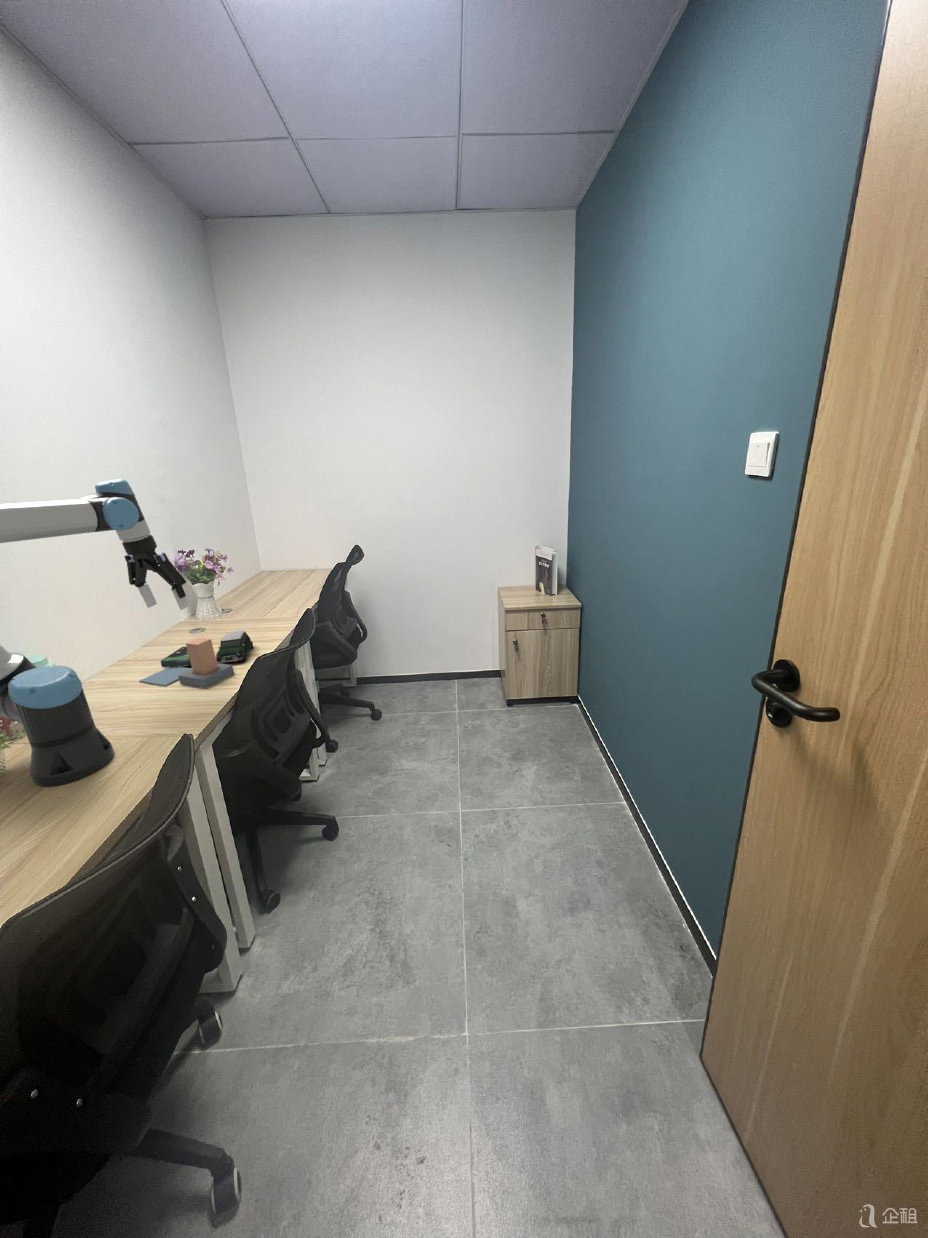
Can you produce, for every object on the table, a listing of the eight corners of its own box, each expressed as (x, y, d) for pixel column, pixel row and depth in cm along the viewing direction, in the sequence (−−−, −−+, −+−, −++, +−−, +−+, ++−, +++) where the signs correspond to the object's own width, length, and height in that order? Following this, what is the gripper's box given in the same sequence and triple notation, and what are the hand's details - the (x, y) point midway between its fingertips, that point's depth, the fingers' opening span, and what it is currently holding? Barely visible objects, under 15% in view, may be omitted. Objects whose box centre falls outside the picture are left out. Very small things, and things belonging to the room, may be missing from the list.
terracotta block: (207, 683, 152) (197, 644, 148) (195, 681, 154) (185, 643, 150) (220, 676, 156) (210, 638, 152) (208, 674, 158) (199, 637, 154)
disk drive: (183, 653, 178) (161, 668, 164) (181, 646, 178) (159, 660, 163) (211, 651, 179) (192, 666, 164) (210, 644, 178) (190, 658, 164)
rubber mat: (165, 686, 151) (165, 685, 151) (139, 682, 156) (139, 680, 156) (198, 670, 162) (197, 669, 162) (172, 667, 166) (172, 665, 166)
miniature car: (216, 668, 163) (210, 646, 161) (229, 649, 180) (224, 629, 178) (244, 664, 165) (239, 642, 163) (254, 645, 182) (250, 625, 179)
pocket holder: (206, 688, 148) (203, 679, 147) (180, 684, 152) (178, 675, 151) (234, 673, 158) (232, 665, 157) (209, 670, 162) (207, 661, 161)
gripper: (180, 532, 131) (209, 602, 141) (118, 533, 140) (150, 599, 150) (156, 542, 125) (188, 614, 135) (93, 542, 134) (128, 610, 144)
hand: (168, 606), depth 143 cm, fingers open, 13 cm apart
